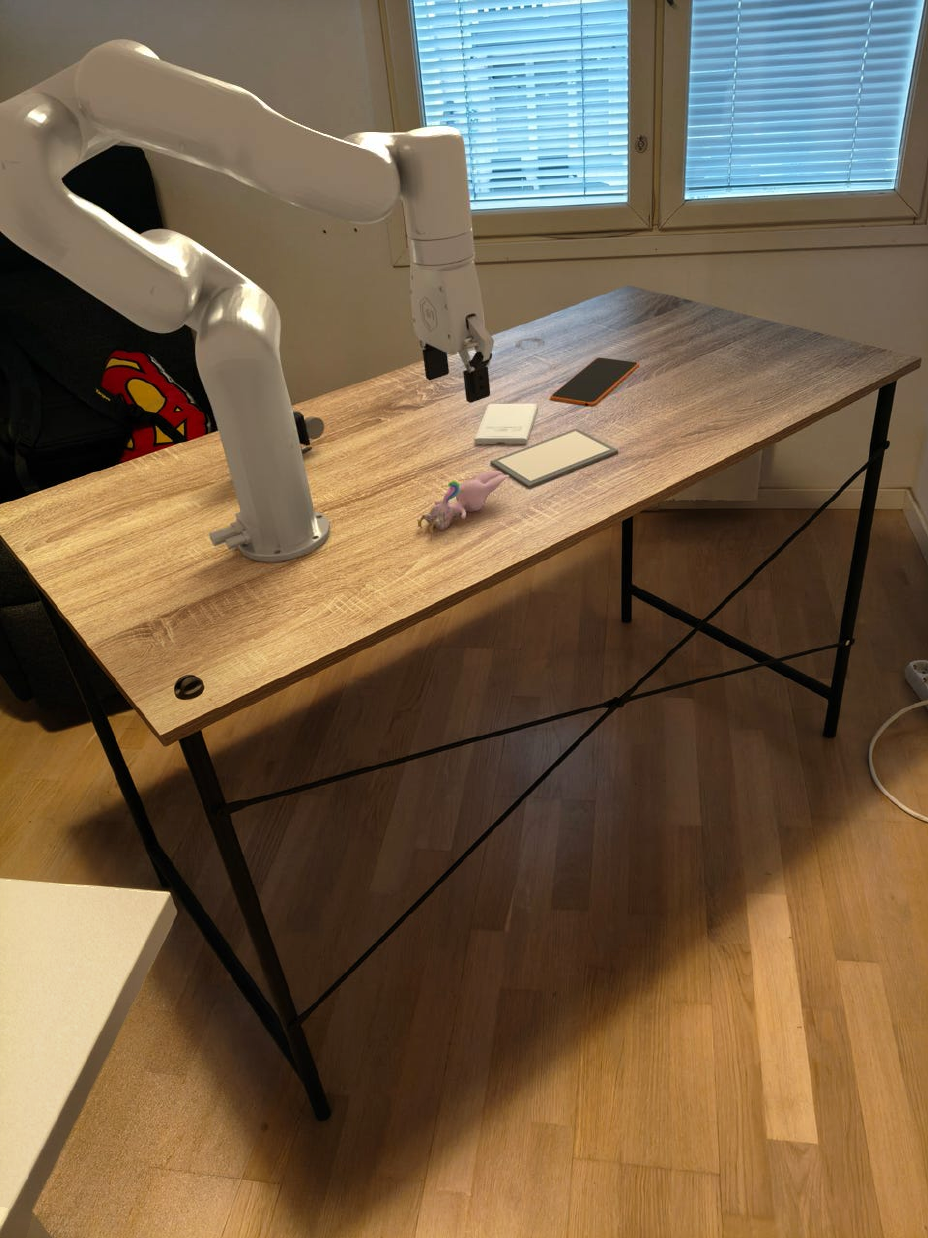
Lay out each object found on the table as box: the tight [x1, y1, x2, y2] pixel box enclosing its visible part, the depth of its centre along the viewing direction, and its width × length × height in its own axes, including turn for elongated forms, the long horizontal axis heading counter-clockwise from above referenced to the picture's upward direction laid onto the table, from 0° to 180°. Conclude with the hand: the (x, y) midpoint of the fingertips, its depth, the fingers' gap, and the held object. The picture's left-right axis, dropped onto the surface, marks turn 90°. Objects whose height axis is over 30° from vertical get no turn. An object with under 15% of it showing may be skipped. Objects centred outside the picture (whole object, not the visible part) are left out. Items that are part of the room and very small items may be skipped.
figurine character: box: [292, 409, 325, 454], centre depth 148 cm, size 7×8×15 cm
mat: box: [489, 428, 619, 489], centre depth 141 cm, size 16×10×1 cm, turn 122°
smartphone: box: [549, 356, 640, 407], centre depth 162 cm, size 8×18×1 cm, turn 148°
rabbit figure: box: [416, 470, 510, 537], centre depth 129 cm, size 6×6×15 cm
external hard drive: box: [473, 403, 538, 445], centre depth 151 cm, size 2×8×12 cm
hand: (457, 387), depth 120 cm, fingers open, 9 cm apart
